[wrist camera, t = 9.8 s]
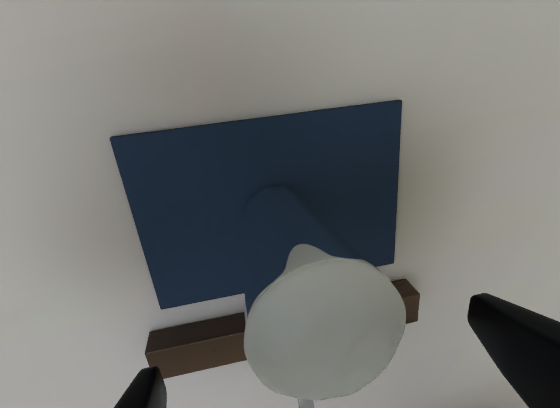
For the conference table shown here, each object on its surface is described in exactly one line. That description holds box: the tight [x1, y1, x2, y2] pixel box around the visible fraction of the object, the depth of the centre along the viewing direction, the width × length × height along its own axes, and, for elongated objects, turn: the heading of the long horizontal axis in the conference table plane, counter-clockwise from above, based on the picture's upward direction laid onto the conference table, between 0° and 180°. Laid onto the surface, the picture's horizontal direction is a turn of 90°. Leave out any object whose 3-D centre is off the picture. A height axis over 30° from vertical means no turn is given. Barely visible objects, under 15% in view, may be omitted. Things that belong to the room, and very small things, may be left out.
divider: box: [145, 279, 420, 379], centre depth 19 cm, size 2×15×2 cm, turn 95°
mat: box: [110, 100, 402, 309], centre depth 17 cm, size 9×13×1 cm
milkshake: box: [242, 185, 406, 408], centre depth 12 cm, size 4×5×10 cm
